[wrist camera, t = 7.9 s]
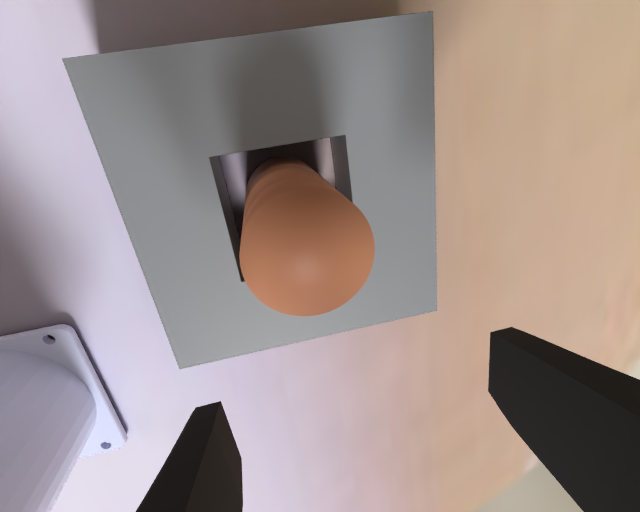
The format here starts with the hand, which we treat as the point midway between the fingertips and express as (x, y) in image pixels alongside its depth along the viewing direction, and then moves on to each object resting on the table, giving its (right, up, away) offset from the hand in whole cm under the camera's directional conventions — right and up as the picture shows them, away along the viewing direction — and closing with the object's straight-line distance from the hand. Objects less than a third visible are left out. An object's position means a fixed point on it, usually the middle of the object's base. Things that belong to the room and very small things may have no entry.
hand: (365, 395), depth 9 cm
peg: (-3, +6, +7) cm, 10 cm away
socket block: (-3, +6, +7) cm, 10 cm away
